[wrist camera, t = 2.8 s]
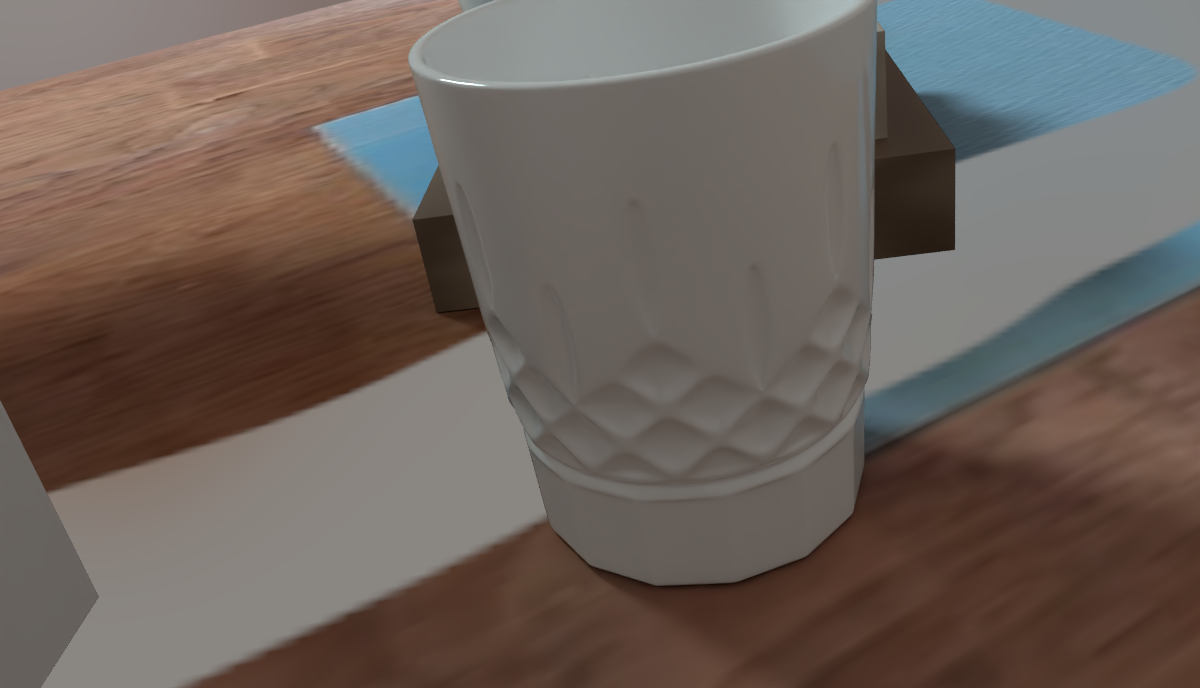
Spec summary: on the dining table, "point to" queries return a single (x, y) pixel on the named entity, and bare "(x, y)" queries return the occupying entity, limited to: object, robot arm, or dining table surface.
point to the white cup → (670, 262)
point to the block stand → (902, 191)
